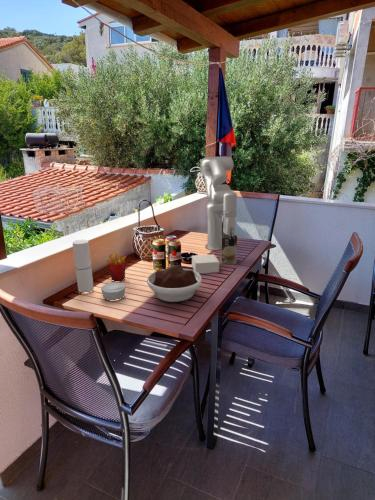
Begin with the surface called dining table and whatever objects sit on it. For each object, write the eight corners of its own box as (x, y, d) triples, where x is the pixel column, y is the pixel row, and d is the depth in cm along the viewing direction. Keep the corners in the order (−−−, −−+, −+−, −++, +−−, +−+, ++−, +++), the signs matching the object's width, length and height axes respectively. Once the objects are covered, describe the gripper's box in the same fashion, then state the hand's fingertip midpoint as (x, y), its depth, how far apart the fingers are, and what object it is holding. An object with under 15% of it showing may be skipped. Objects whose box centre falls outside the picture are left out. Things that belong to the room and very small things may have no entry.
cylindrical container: (80, 295, 161) (73, 244, 153) (77, 289, 167) (71, 241, 159) (95, 292, 164) (90, 242, 156) (91, 287, 170) (86, 238, 162)
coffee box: (220, 264, 199) (221, 237, 194) (220, 260, 205) (221, 234, 200) (236, 264, 198) (237, 237, 193) (236, 260, 204) (236, 234, 199)
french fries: (116, 277, 182) (113, 250, 177) (129, 278, 179) (127, 251, 175) (107, 283, 174) (104, 255, 169) (121, 285, 171) (119, 257, 167)
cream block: (192, 265, 197) (191, 255, 195) (214, 264, 199) (214, 254, 197) (195, 273, 185) (195, 263, 183) (219, 272, 187) (219, 261, 185)
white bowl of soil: (153, 284, 171) (152, 256, 167) (203, 286, 169) (203, 257, 164) (142, 308, 148) (140, 275, 143) (199, 310, 145) (199, 277, 140)
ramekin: (114, 304, 151) (113, 294, 150) (96, 299, 157) (95, 288, 155) (131, 295, 160) (130, 285, 159) (113, 290, 166) (113, 280, 164)
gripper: (219, 212, 200) (219, 240, 205) (227, 217, 184) (226, 247, 189) (232, 211, 201) (231, 239, 206) (240, 216, 185) (239, 247, 189)
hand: (229, 243), depth 197 cm, fingers open, 9 cm apart
